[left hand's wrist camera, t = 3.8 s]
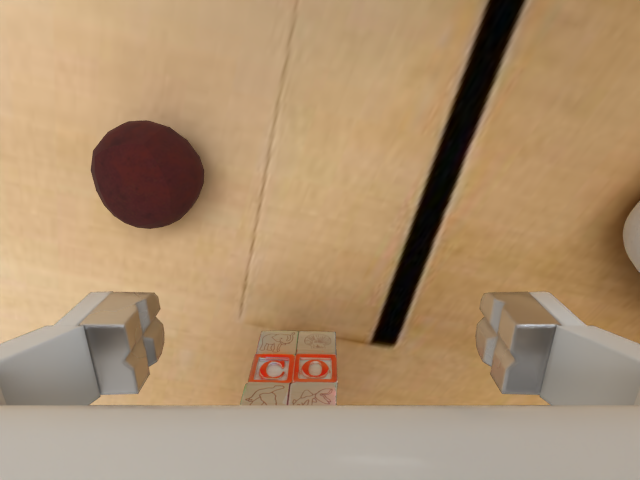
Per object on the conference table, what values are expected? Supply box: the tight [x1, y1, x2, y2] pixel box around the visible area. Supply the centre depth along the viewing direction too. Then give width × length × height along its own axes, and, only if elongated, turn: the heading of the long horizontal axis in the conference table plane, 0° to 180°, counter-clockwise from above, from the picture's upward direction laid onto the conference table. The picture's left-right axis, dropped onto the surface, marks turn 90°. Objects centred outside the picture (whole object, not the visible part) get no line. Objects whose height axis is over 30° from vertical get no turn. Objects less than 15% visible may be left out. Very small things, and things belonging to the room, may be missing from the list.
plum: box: [91, 121, 204, 229], centre depth 30 cm, size 7×8×7 cm
